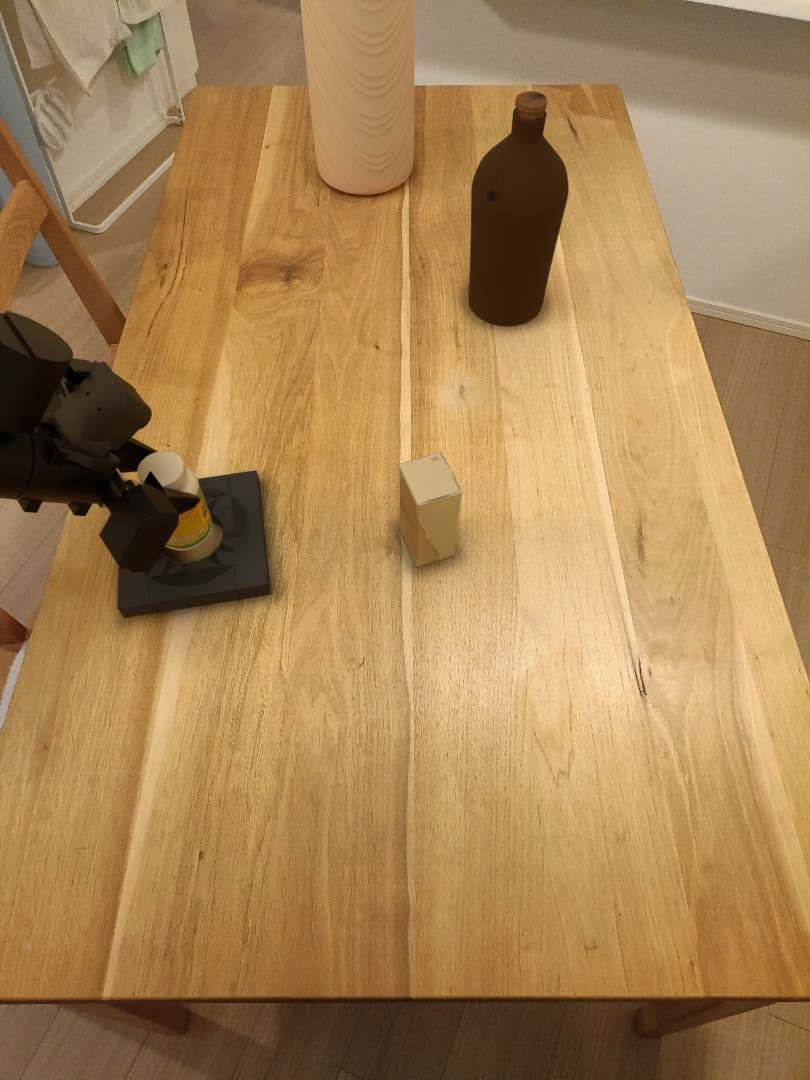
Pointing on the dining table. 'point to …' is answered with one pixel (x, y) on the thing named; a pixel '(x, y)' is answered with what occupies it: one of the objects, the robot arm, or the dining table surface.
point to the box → (428, 508)
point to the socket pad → (224, 571)
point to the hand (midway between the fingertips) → (182, 482)
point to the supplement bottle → (179, 477)
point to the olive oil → (516, 218)
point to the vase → (361, 91)
